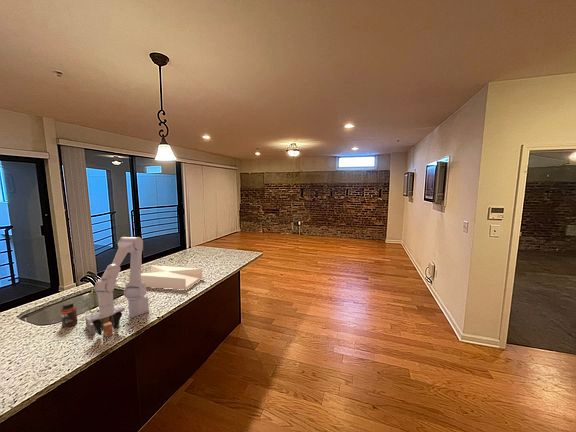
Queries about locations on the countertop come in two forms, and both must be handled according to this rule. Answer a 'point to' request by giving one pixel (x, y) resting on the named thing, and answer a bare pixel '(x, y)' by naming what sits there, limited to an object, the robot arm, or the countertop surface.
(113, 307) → the robot arm
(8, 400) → the countertop surface
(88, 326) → the slate lane
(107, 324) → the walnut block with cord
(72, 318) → the supplement bottle
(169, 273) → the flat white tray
